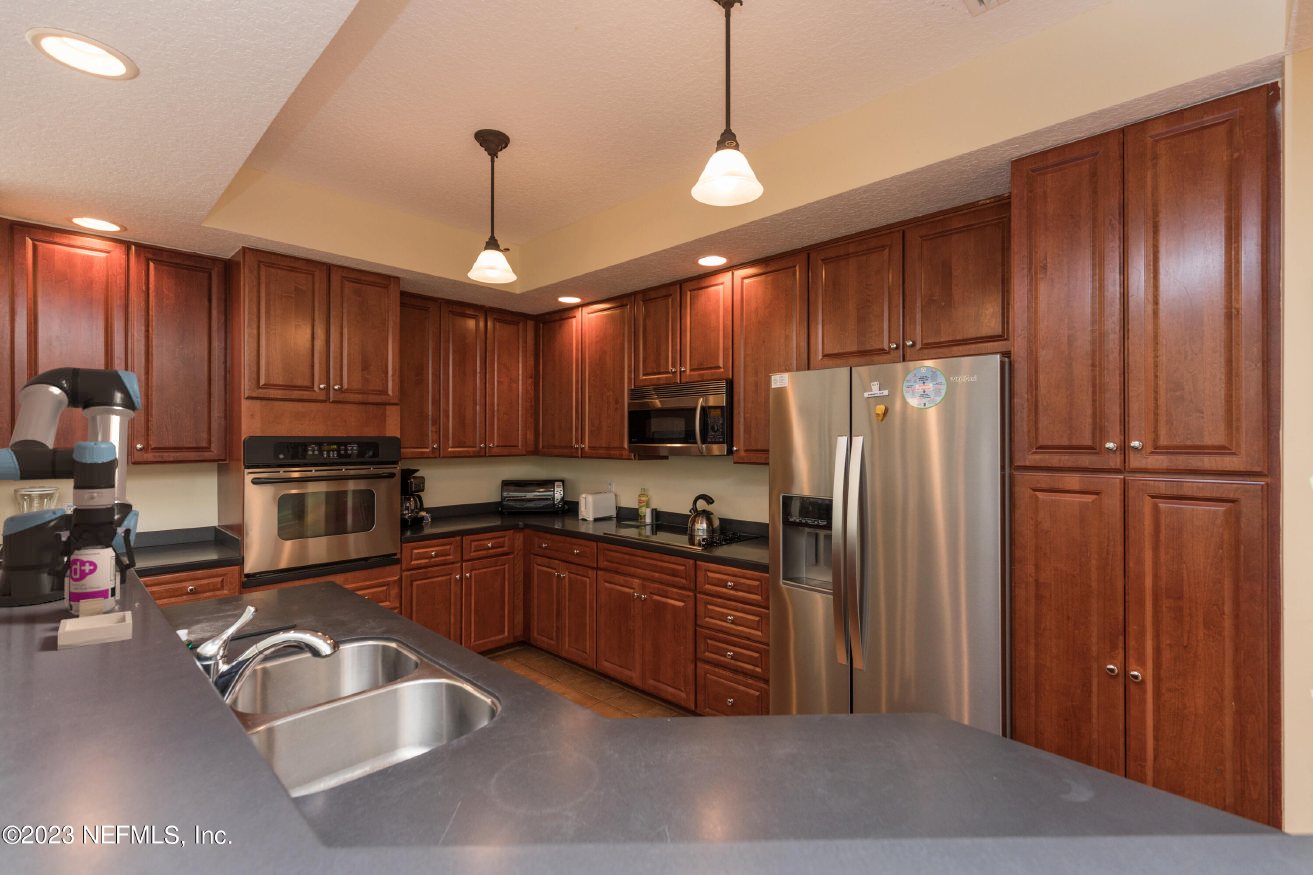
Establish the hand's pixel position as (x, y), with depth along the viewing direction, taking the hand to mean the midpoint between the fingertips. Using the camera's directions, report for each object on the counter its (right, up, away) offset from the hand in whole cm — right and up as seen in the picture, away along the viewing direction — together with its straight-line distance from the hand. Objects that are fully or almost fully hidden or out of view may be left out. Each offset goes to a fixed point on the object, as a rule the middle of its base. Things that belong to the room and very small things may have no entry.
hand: (92, 600), depth 148 cm
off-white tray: (+14, -4, -14) cm, 20 cm away
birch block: (+6, -4, -7) cm, 10 cm away
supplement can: (0, -2, 0) cm, 2 cm away
